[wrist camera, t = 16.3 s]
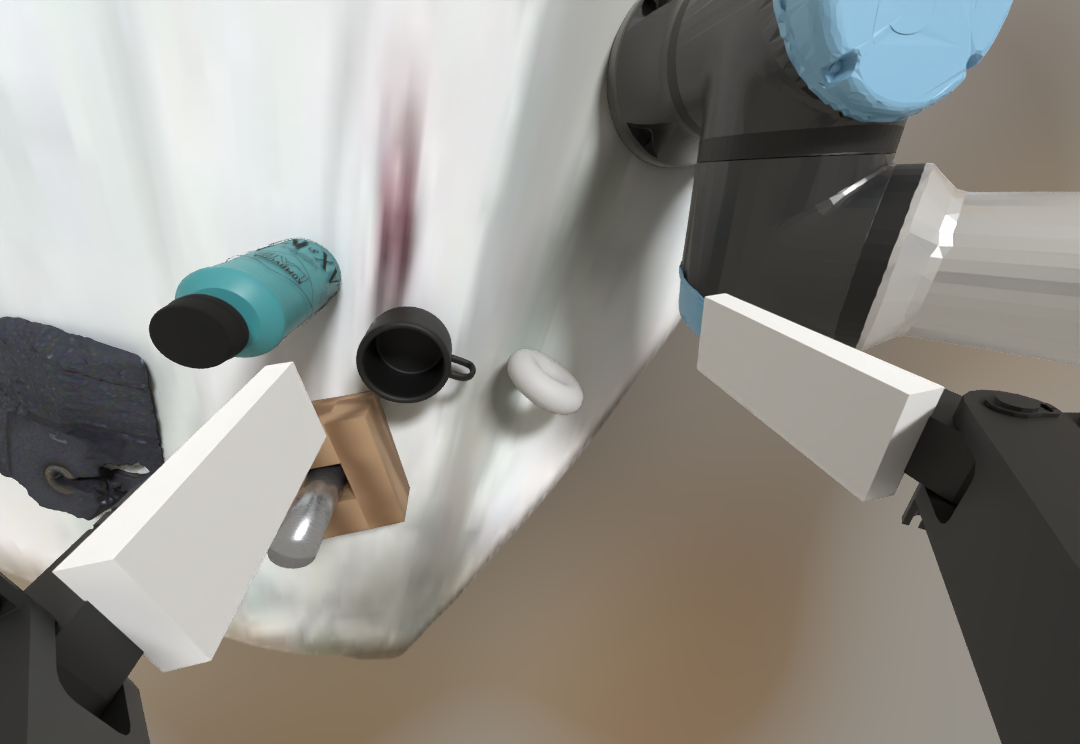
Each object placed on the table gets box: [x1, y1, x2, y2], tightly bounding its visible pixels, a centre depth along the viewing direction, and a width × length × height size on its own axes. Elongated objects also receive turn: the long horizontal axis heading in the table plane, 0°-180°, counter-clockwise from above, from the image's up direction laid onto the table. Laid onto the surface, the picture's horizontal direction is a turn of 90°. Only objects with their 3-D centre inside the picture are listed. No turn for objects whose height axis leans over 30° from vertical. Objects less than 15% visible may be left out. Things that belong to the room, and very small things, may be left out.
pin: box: [268, 463, 347, 568], centre depth 42 cm, size 4×4×14 cm
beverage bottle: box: [149, 238, 342, 369], centre depth 30 cm, size 6×7×20 cm
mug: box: [356, 307, 476, 403], centre depth 41 cm, size 12×9×7 cm
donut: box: [507, 349, 583, 415], centre depth 44 cm, size 10×3×10 cm, turn 56°
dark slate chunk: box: [0, 317, 163, 520], centre depth 39 cm, size 15×22×5 cm
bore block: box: [278, 391, 410, 539], centre depth 46 cm, size 14×16×6 cm
